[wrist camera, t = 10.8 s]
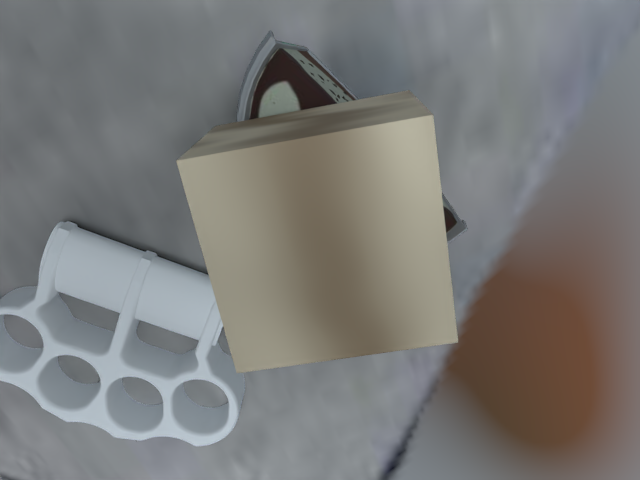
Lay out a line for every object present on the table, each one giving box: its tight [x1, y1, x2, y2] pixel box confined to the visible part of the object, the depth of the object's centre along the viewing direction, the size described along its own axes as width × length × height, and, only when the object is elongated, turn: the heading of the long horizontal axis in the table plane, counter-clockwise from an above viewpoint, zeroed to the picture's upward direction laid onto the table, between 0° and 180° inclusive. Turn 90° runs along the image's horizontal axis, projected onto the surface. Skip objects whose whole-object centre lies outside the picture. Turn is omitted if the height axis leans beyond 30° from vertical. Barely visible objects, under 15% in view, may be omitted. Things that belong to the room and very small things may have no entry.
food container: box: [237, 31, 468, 244], centre depth 29 cm, size 12×6×10 cm, turn 47°
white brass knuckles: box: [0, 221, 245, 446], centre depth 37 cm, size 3×18×15 cm
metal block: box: [176, 90, 458, 373], centre depth 21 cm, size 8×8×6 cm
